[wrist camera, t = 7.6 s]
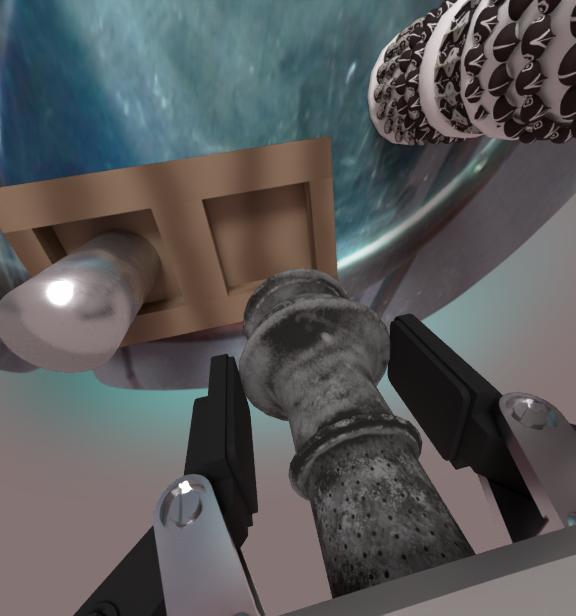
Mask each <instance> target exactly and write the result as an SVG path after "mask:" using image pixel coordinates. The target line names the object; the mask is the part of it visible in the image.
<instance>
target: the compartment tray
mask: <svg viewBox="0 0 576 616" xmlns="http://www.w3.org/2000/svg"><path fill="white" fill-rule="evenodd" d="M0 229H1V231H2V232H3V234H4V235H5V237H6V238H7V240H8V241H9V243H10V245H11V246H12V248H13V249H14V251H15V252H16V254H17V255H18V257H19V259H20V260H21V262H22V263H23V265H24V266H25V268H26V269H27V271H28V273H29V274H30V276H31V277H34V276H36V275H37V274H39V273H40V272H42V271H43V270H45V269H47V268H48V267H50V266H51V265H53V264H55V263H56V262H58V261H59V260H61V259H62V258H64V257H66V256H67V255H69V254H70V253H72V252H73V251H75V250H77V249H78V248H80V247H81V246H83V245H84V244H86V243H88V242H89V241H91V240H92V239H94V238H95V237H97V236H99V235H100V234H102V233H104V232H106V231H109V230H115V229H123V230H129V231H132V232H135V233H137V234H139V235H141V236H143V237H144V238H146V239H147V240H148V241H149V242H150V243H151V244H152V245H153V246H154V248H155V249H156V251H157V252H158V255H159V257H160V262H161V270H160V274H159V276H158V278H157V280H156V282H155V283H154V285H153V287H152V289H151V290H150V292H149V294H148V296H147V297H146V299H145V301H144V303H143V304H142V306H141V308H140V310H139V311H138V313H137V315H136V317H135V319H134V320H133V322H132V324H131V326H130V327H129V329H128V331H127V333H126V334H125V336H124V338H123V340H122V341H121V343H120V345H119V347H118V348H120V347H124V346H129V345H134V344H139V343H143V342H148V341H153V340H157V339H162V338H167V337H172V336H176V335H181V334H186V333H191V332H195V331H200V330H205V329H209V328H214V327H219V326H224V325H228V324H233V323H238V322H243V319H244V311H245V308H246V305H247V302H248V300H249V298H250V297H251V296H252V294H253V293H254V291H255V290H256V288H258V287H259V286H260V285H261V284H262V283H263V282H265V281H266V280H267V279H268V278H270V277H272V276H274V275H276V274H278V273H280V272H283V271H287V270H292V269H296V268H305V269H315V270H318V271H321V272H325V273H327V274H328V275H330V276H331V277H333V278H335V279H336V280H337V281H338V277H337V258H336V238H335V218H334V199H333V179H332V160H331V140H330V136H327V137H321V138H314V139H308V140H301V141H295V142H289V143H282V144H276V145H269V146H263V147H257V148H250V149H244V150H237V151H231V152H225V153H218V154H212V155H205V156H199V157H193V158H186V159H180V160H173V161H167V162H161V163H154V164H148V165H141V166H135V167H129V168H122V169H116V170H109V171H103V172H97V173H90V174H84V175H77V176H71V177H65V178H58V179H52V180H45V181H39V182H33V183H26V184H20V185H13V186H7V187H0Z"/></svg>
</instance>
